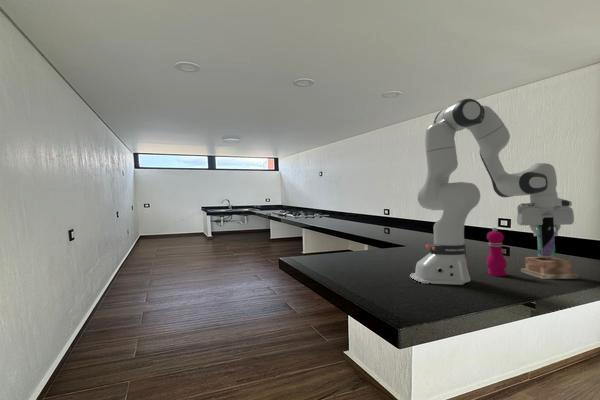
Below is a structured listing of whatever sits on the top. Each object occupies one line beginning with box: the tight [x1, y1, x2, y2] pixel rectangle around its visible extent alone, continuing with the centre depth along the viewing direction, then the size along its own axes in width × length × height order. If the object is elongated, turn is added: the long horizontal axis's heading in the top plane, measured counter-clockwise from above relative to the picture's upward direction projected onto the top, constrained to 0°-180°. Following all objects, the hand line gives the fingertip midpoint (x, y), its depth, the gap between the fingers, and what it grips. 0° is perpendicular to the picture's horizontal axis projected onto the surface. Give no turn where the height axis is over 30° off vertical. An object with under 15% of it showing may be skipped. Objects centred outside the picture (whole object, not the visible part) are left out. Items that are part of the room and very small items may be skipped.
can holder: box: [520, 256, 580, 280], centre depth 121 cm, size 13×13×6 cm
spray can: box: [536, 213, 556, 258], centre depth 122 cm, size 6×6×20 cm
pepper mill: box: [486, 226, 508, 277], centre depth 125 cm, size 7×7×20 cm
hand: (545, 236), depth 122 cm, fingers closed on spray can, 5 cm apart
